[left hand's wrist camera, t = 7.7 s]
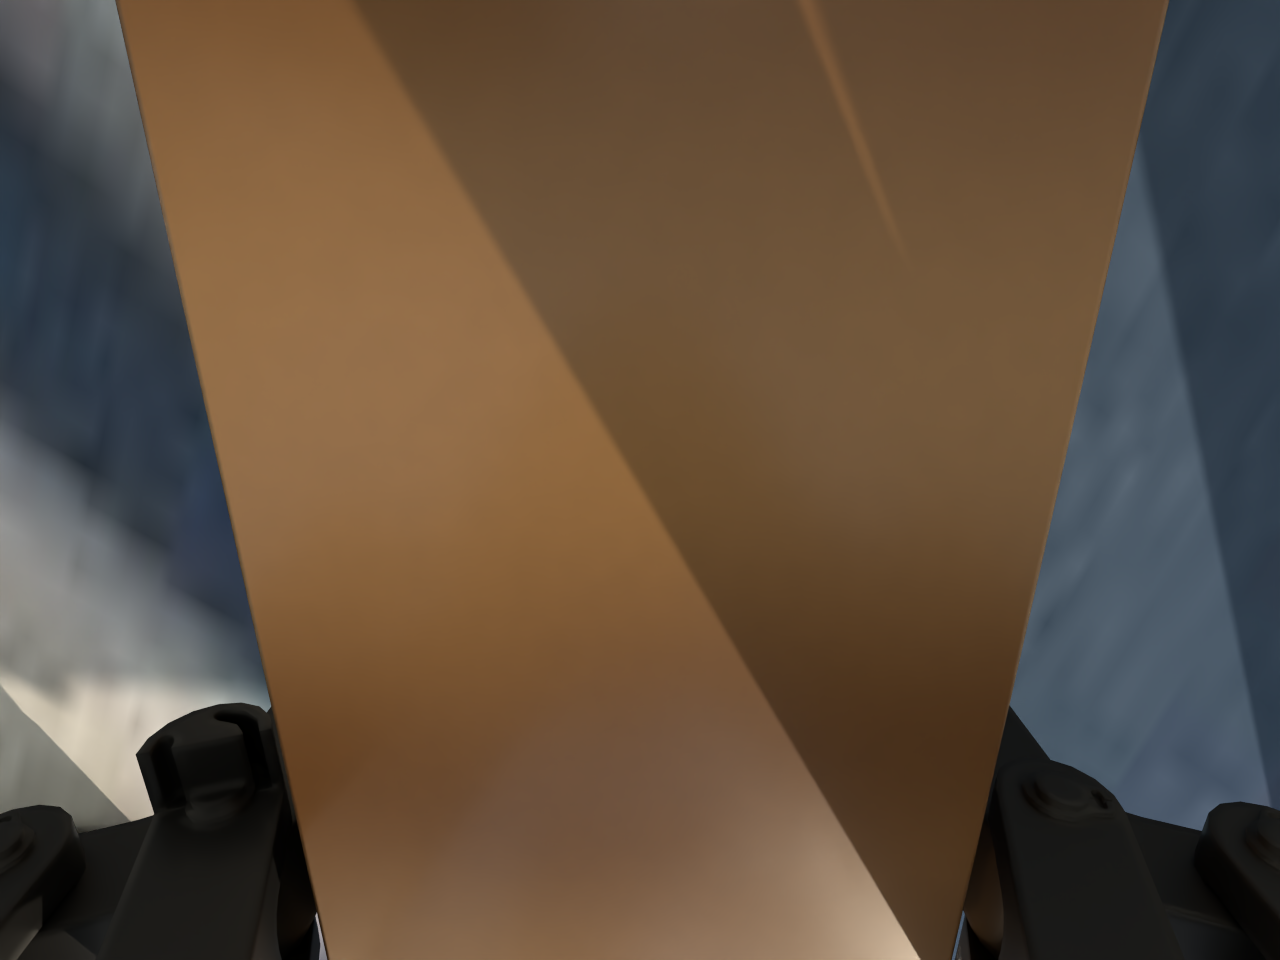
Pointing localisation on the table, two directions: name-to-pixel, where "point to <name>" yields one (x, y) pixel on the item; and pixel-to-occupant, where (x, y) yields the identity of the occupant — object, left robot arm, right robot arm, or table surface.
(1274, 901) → the left robot arm
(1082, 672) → the table surface
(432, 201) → the box
